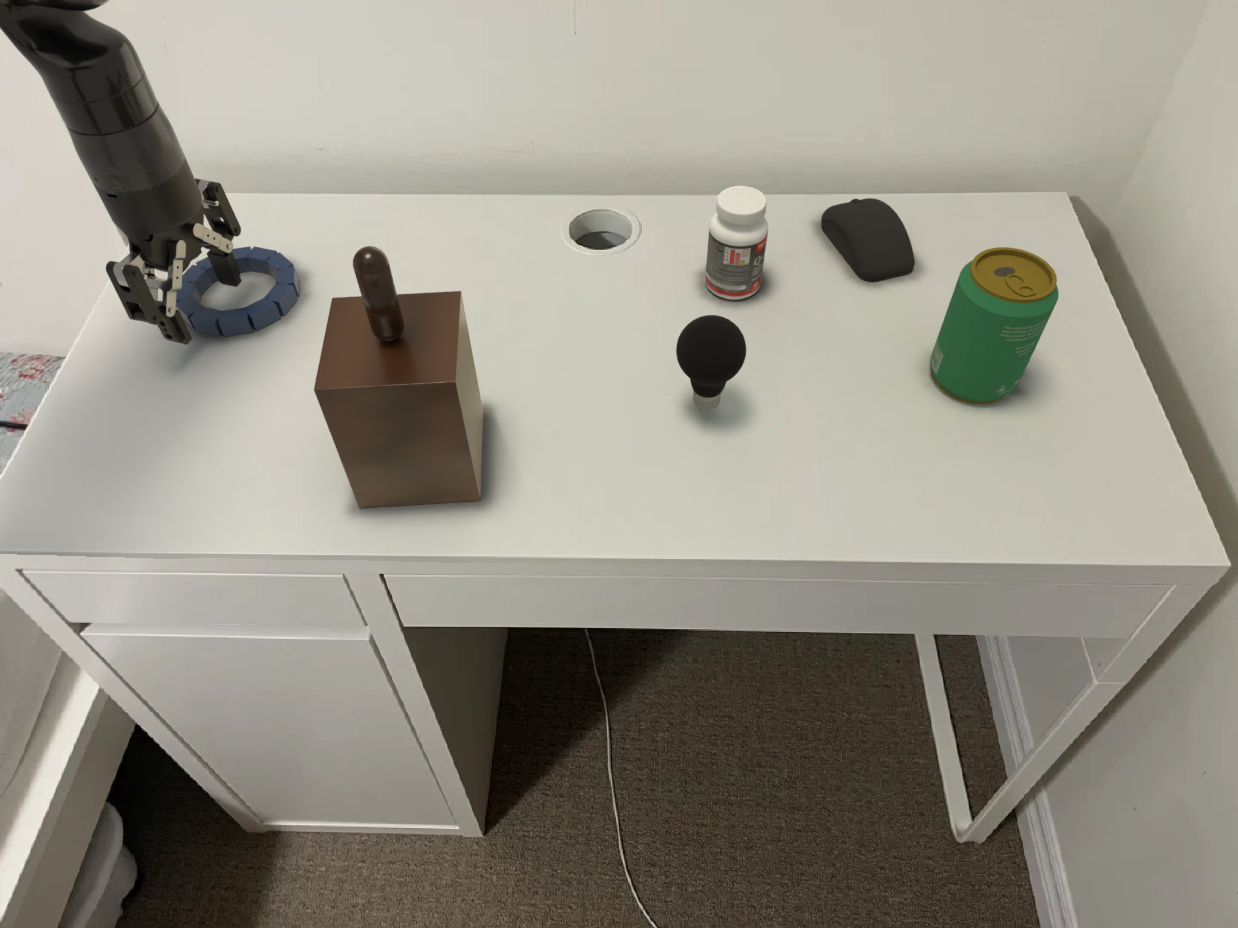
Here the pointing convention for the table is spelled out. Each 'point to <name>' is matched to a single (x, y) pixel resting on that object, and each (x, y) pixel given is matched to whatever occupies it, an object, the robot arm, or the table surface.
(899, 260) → the computer mouse
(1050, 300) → the beverage can
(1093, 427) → the table surface
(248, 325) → the ring
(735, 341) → the light bulb
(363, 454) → the stand
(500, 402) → the table surface
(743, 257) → the pill bottle
